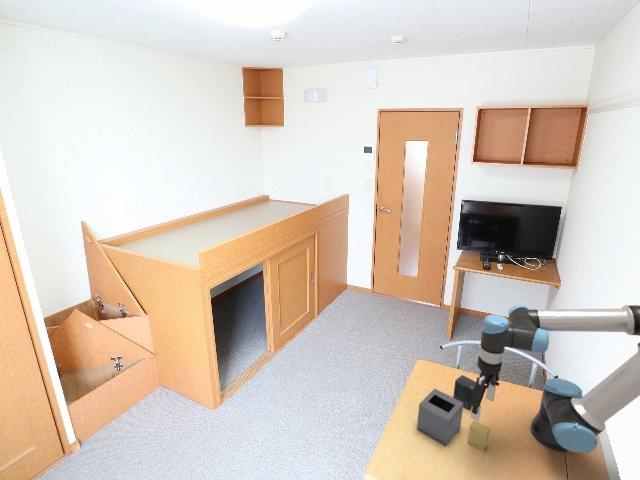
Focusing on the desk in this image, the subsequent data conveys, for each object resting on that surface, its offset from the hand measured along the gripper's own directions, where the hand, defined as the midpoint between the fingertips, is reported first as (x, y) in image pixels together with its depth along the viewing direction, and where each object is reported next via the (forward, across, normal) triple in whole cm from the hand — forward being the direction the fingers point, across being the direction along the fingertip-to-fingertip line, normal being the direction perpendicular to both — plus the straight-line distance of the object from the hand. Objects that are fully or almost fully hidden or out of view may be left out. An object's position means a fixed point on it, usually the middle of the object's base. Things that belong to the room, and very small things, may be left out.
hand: (482, 409), depth 138 cm
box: (+16, -18, -13) cm, 27 cm away
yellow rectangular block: (+16, 0, 0) cm, 16 cm away
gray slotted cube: (+16, +3, -14) cm, 21 cm away
